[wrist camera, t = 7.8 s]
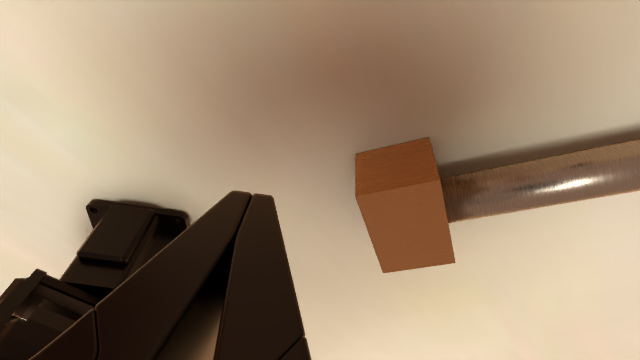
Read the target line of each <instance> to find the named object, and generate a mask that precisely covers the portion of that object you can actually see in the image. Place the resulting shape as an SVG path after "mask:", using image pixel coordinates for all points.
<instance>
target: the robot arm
mask: <svg viewBox="0 0 640 360" xmlns="http://www.w3.org/2000/svg"><path fill="white" fill-rule="evenodd" d="M86 210H87V213H88V215H89V218H90V221H91V224H92V226H93V229H94V230H93V231H92V232H91V234H90V235H89V236H88V238H87V239H86V240H85V242H84V243H83V245H82V246H81V247H80V249H79V250H78V251H77V256H76V257H75V259H74V260H73V261H72V263H71V264H70V266H69V267H68V268H67V270H66V271H65V272H64V274H63V275H62V277H61V278H60V279H59V280H58V279H56V278H54V277H51V276H49V275H47V272H44V271H42V270H40V269H36V270H35V271H34V272H33V273H32V274H31V276H30V277H29V278H16V279H15V280H14V281H13V282H12V283H11V285H10V286H9V287H8V288H7V289H6V291H5V292H4V293H3V294H2V295H1V296H0V360H311V356H310V352H309V348H308V343H307V339H306V338H305V331H304V327H303V323H302V318H301V314H300V310H299V306H298V301H297V297H296V293H295V288H294V284H293V280H292V275H291V271H290V267H289V263H288V258H287V254H286V250H285V245H284V241H283V237H282V232H281V228H280V224H279V220H278V215H277V211H276V207H275V202H274V198H273V197H272V196H271V195H264V194H257V193H256V194H254V195H253V196H252V194H251V193H249V192H242V191H231V192H230V193H229V194H227V195H226V196H225V197H224V198H223V199H221V200H220V201H219V202H218V203H217V204H216V205H214V206H213V207H212V208H211V209H210V210H208V211H207V212H206V213H205V214H204V215H202V216H201V217H200V218H199V219H198V220H197V221H195V222H194V223H193V224H192V225H191V226H189V221H188V217H187V215H186V214H184V213H182V212H177V211H170V210H162V209H155V208H147V207H140V206H133V205H125V204H118V203H110V202H103V201H96V200H92V201H90V202H89V204H88V205H87V206H86ZM179 219H180V220H179ZM21 318H23V319H21ZM24 319H26V320H27V321H26V320H24Z"/></svg>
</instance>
